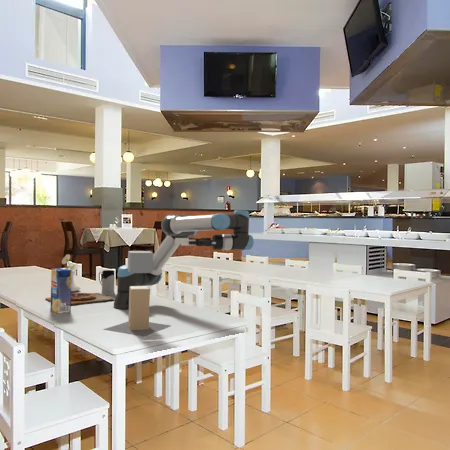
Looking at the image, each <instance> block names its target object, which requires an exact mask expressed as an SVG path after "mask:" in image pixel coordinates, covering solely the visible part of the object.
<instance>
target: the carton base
mask: <svg viewBox="0 0 450 450" xmlns="http://www.w3.org/2000/svg"><path fill="white" fill-rule="evenodd" d="M150 293H151V289H150V288H149V286H130V287H129V309H128V321H127V322H128V326H129V329H130V330H144V329H149V322H150V296H151V294H150Z"/></svg>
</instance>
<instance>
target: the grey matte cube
mask: <svg viewBox="0 0 450 450" xmlns="http://www.w3.org/2000/svg"><path fill="white" fill-rule="evenodd" d="M153 254H154V252H152V251H151V250H128V252H127V265H128V272H129V273H153Z"/></svg>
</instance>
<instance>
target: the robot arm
mask: <svg viewBox="0 0 450 450" xmlns="http://www.w3.org/2000/svg"><path fill="white" fill-rule="evenodd" d="M160 227H161V230H162V232H163V233H164V234H165V235H166V237H165V238H164V239H163V240H162V241H161V243H160V245H159V246H158V248H157V249H156V250H155V251H154V252H153V273H129V272H128V264H124V265H121V266H119V267H118V269H117V275H116V276H117V287H116V288H117V289H116V290H117V291H116V292H117V293H116V296H115V299H114V301H113V308H114V309H119V310H129V287H130V286H147V287H149V286H154V285H158V283H160V282H161V280H162V277H163V268H164V267H165V264H166V263H167V262H168V261H169V260H170V259H171V257H172V256H173V254H174V253H175V252H176V250H177V249H178V247H179V246H185V247H186V246H189V247H190V246H192V247H195V246H197V247H198V246H199V247H202V246H203V247H211V246H212V250H214V251H221V250H223V251H226V252H229V251H250V250H252V249H253V247H254V242H255V241H254V237H253V235H252V234H249V230H250V212H249V211H248V210H242V209H241V210H239V209H237V210H236V209H235V210H234V211H233V213H225V212H224V213H223V212H220V213H215V214H214V213H213V214H201V215H192V214H168V215H165V217H164V218H163V219H162V221H161V224H160ZM225 230H226V231H227V230H228V231H229V230H231V231H232V233H233V234H227V233H225V234H219V233H218V234H216V233H215V234H213V235H212V238H211V237H200V238H197V237H195V238H194V236H196V235H197V233H198V232H203V231H204V232H205V231H225ZM192 237H193V238H192Z"/></svg>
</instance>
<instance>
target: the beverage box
mask: <svg viewBox="0 0 450 450" xmlns="http://www.w3.org/2000/svg"><path fill="white" fill-rule="evenodd" d="M50 269H51V275H50V297H51V302H50V309H49V310H50V311H52V312H54V313H55V314H64V313H63V312H66V313H71V311H72V309H71V306H72V305H71V293H72V292H71V277H72V270H73V269H70V268H68V269H66V268H65V267H59V268H57V267H56V268H50Z"/></svg>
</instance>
